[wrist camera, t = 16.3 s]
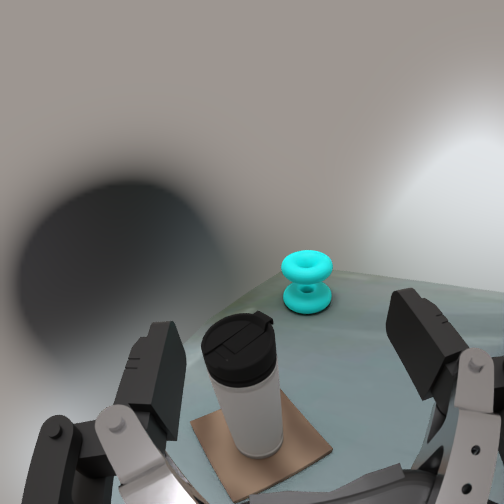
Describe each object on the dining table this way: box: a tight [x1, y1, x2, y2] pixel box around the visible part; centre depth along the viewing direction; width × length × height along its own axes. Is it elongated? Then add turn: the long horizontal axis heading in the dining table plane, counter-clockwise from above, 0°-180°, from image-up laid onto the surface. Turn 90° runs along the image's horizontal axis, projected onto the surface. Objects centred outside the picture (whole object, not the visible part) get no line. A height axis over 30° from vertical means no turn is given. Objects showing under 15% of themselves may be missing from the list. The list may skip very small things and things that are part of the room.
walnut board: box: [190, 389, 333, 503], centre depth 32 cm, size 14×14×1 cm
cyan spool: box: [281, 250, 333, 314], centre depth 57 cm, size 10×10×10 cm
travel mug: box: [201, 311, 283, 459], centre depth 27 cm, size 6×7×20 cm
